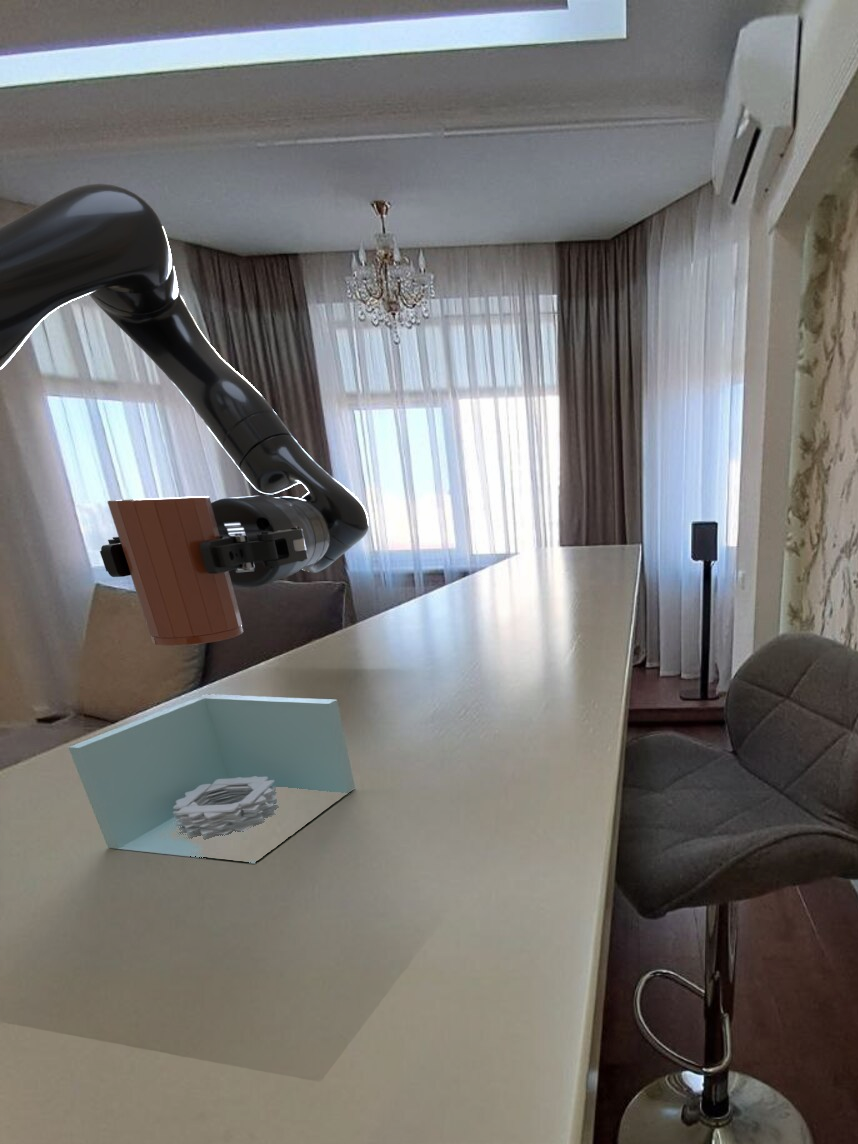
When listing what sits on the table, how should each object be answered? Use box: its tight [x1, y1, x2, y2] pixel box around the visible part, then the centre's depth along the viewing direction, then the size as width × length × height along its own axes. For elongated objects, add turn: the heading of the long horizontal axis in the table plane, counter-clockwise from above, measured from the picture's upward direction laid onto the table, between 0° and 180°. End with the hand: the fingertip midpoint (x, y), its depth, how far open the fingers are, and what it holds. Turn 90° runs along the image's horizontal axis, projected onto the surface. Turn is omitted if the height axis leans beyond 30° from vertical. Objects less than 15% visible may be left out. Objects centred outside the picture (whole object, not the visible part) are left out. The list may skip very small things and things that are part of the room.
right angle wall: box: [67, 693, 356, 864], centre depth 50 cm, size 12×12×8 cm
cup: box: [106, 495, 244, 647], centre depth 52 cm, size 6×6×10 cm
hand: (159, 560), depth 49 cm, fingers closed on cup, 6 cm apart
